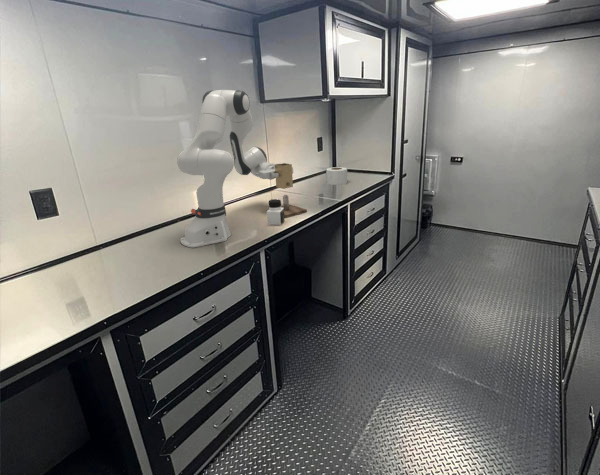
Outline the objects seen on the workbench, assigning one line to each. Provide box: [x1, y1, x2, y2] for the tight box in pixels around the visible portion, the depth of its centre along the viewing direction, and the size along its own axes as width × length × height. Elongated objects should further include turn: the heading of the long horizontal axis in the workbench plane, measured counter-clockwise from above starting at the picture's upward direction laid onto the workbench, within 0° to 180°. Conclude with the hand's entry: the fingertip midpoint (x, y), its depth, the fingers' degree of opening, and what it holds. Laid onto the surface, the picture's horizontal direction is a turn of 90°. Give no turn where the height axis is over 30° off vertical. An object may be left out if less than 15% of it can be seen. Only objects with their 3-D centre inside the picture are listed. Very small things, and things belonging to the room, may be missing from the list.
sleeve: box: [275, 162, 294, 190], centre depth 183 cm, size 6×8×12 cm
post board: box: [265, 194, 308, 219], centre depth 188 cm, size 16×16×10 cm
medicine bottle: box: [266, 198, 286, 226], centre depth 171 cm, size 7×7×12 cm
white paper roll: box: [325, 166, 348, 186], centre depth 256 cm, size 16×15×11 cm
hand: (284, 174), depth 181 cm, fingers closed on sleeve, 6 cm apart
